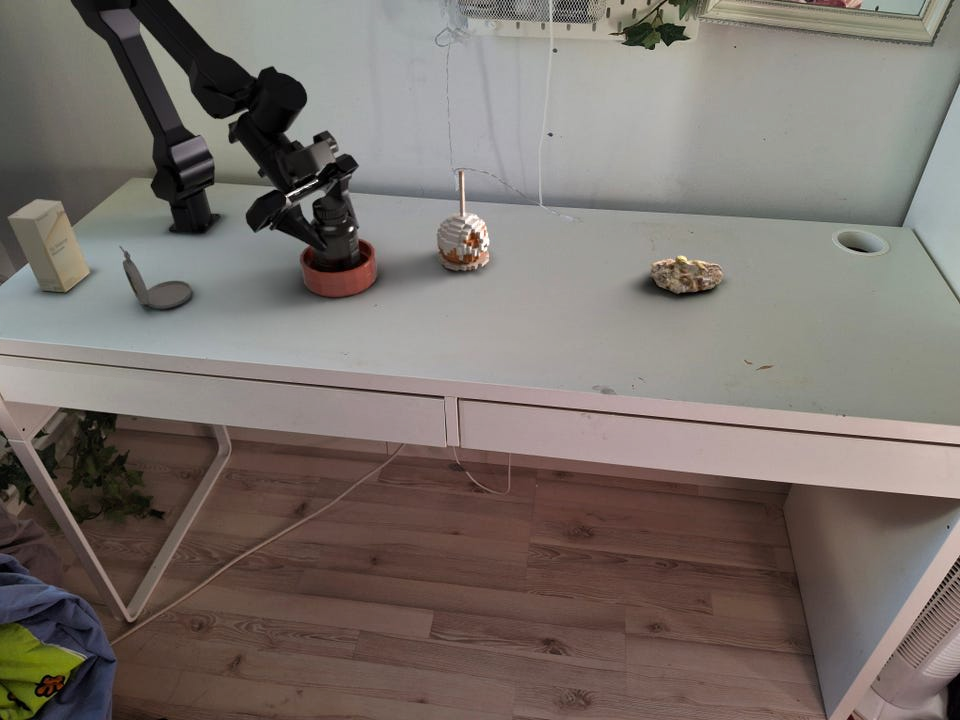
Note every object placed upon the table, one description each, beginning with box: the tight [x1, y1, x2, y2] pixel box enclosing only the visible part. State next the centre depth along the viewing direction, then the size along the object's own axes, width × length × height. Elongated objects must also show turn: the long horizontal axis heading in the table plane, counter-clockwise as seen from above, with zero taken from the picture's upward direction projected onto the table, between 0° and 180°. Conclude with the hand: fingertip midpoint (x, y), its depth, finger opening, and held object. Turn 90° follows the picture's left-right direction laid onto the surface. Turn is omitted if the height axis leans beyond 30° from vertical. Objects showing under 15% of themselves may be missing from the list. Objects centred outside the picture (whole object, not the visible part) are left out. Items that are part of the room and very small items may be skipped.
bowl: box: [299, 237, 378, 298], centre depth 107 cm, size 11×11×4 cm
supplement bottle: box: [309, 195, 361, 273], centre depth 105 cm, size 7×7×12 cm
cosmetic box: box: [7, 198, 91, 293], centre depth 105 cm, size 6×4×12 cm
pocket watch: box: [118, 245, 193, 310], centre depth 102 cm, size 8×8×10 cm
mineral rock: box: [650, 254, 725, 295], centre depth 106 cm, size 11×4×8 cm
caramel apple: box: [436, 168, 490, 272], centre depth 108 cm, size 8×8×15 cm
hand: (341, 239), depth 104 cm, fingers closed on supplement bottle, 7 cm apart
